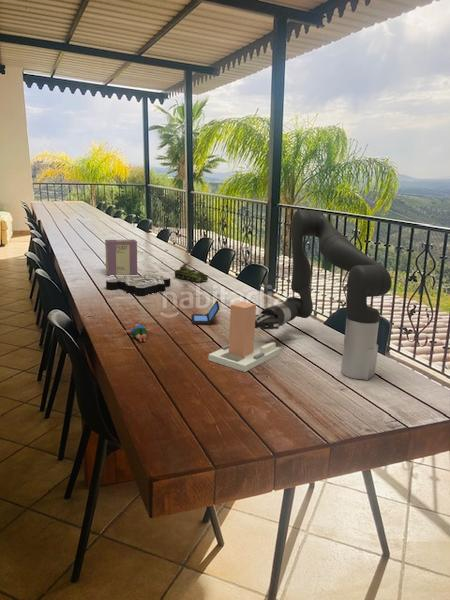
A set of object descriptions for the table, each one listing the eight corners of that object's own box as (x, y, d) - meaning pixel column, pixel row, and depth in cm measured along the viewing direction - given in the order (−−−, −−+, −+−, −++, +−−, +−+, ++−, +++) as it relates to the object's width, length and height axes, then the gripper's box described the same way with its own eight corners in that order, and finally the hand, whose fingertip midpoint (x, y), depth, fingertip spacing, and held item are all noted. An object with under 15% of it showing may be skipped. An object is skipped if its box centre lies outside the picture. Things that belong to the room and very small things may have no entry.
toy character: (124, 332, 156) (119, 319, 170) (124, 345, 157) (119, 331, 171) (160, 330, 160) (152, 317, 174) (160, 342, 161) (152, 329, 175)
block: (253, 352, 148) (256, 304, 145) (242, 357, 144) (245, 308, 140) (239, 348, 152) (241, 301, 148) (228, 353, 147) (230, 304, 143)
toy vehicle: (184, 276, 274) (184, 259, 272) (209, 281, 262) (210, 264, 260) (173, 278, 267) (173, 261, 265) (198, 284, 255) (198, 266, 253)
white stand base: (280, 353, 154) (281, 342, 153) (244, 372, 138) (245, 359, 137) (246, 343, 162) (246, 332, 161) (208, 360, 146) (208, 348, 145)
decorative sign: (101, 280, 234) (142, 272, 259) (102, 289, 235) (142, 280, 260) (143, 289, 220) (181, 279, 244) (143, 298, 221) (181, 287, 246)
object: (191, 316, 193) (191, 299, 191) (217, 317, 194) (217, 299, 192) (191, 325, 181) (192, 307, 179) (219, 326, 182) (219, 307, 180)
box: (108, 276, 265) (107, 241, 260) (106, 273, 273) (105, 239, 268) (137, 275, 270) (136, 241, 266) (134, 272, 279) (134, 239, 274)
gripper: (260, 302, 164) (231, 311, 151) (293, 309, 157) (266, 319, 143) (259, 322, 166) (230, 333, 153) (291, 330, 159) (264, 342, 145)
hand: (247, 326), depth 148 cm, fingers closed
